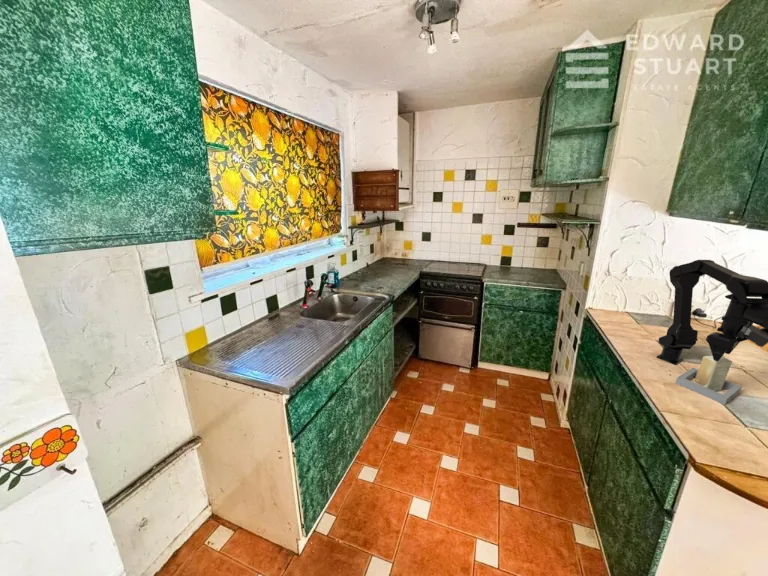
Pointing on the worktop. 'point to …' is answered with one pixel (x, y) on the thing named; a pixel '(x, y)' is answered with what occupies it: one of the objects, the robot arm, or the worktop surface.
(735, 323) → the robot arm
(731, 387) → the holder
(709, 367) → the skincare box
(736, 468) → the worktop surface
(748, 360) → the worktop surface
